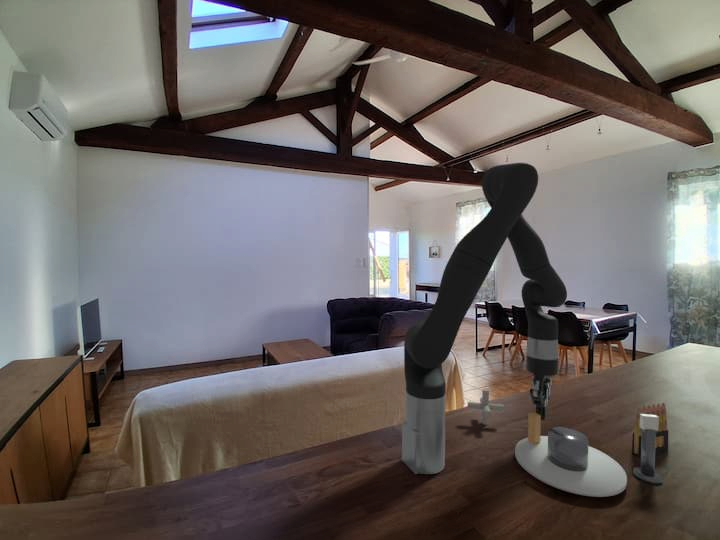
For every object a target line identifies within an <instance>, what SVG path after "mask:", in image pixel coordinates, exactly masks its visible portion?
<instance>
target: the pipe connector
mask: <svg viewBox="0 0 720 540" xmlns="http://www.w3.org/2000/svg"><path fill="white" fill-rule="evenodd" d="M467 409H475V410H481V424H482V425H484V426H487V425H489V418H491V417H492V412H491V411H498V412H504V411H505V406H504V404H500V403H498V404H497V403H490V390H489V389H487V388H483V389H482V397H480V398H479V402H476V401H467Z"/></svg>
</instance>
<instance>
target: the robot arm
mask: <svg viewBox="0 0 720 540" xmlns="http://www.w3.org/2000/svg"><path fill="white" fill-rule="evenodd" d="M481 182H482V183H481V188H482V192H483V195H484V197H485V199H486V201H487V203H488V205H489V206H490V209H489V211H488V213H487V214H486V215H485V216H484V218H482V219H481V221H479V222H478V223H477V224H476V225H475V226H474V227H473V228H471V230H469V231H468V232H467V233H466V234H465V235H464V236H463V237H462V238H461V239H460V241H459V242H457V245H456V246H455V247H454V250H453V252H452V253H451V255H450V257H449V259H448V261H447V262H446V265H445V268H444V270H443V272H442V277H441V280H440V283H439V288H438V291H437V292H438V293H437V296H436V300H435V303H434V305H433V307H432V309H431V311H430V313H429V314H428V315H427V317H426V320H425V321H423V322H421V321H420V322H417V323H414V324H413V325H411V326H410V327H409V328H408V330H407V332H406V334H405V337H404V344H403V345H404V347H403V348H404V350H403V352H404V353H403V354H404V357H403V358H404V364H403V365H404V366H403V367H404V380H405V420H404V421H402V423H401V425H402V427H401V428H402V429H401V461H402V462H403V463H404V464H405V465H406V466H407V467H408V468H409V469H410V471H412V473H413V474H414V475H418V474H422V475H434V474H438V473H440V472H442V471H443V470H444V468H445V464H446V463H445V462H446V390H447V389H446V387H447V385H446V379H445V376H444V371H443V363H444V362H446V360H447V359H448V357H449V355H450V353H451V351H452V349H453V346H454V343H455V340H456V338H457V336H458V333H459V331H460V328H461V326H462V323H463V321H464V318H465V316H466V315H467V313H468V311H469V309H470V308H471V306H472V304H473V302H474V301H475V299H476V297H477V294H478V293H479V291H480V289H481V288H482V286H483V285H484V282H485V281H486V279H487V277H488V275H489V273H490V271H491V270H492V267H493V265H494V262H495V261H496V259H497V256H498V254H499V252H501V249H502V248H503V246H504V244H505V242H506V240H507V239H508V241H509V243H510V246H511V247H512V251H513V253H514V255H515V256H514V257H515V260H516V261H517V265H518V267H519V271H520V273H521V275H522V276H523V277H524V278H526V279H528V280H526V281H525V282H524V283H523V285H522V288H521V299H522V303H523V306H524V310H525V314H526V319H527V323H528V325H527V327H528V328H527V340H526V341H527V342H526V363H525V365H526V366H525V367H526V371H527V372H529V373H531V374H533V378H532V379H531V386H532V388H530V390H529V393H530V397H531V401H532V404H533V405H535V413H537V414H539V415H541V421H546V419H547V405H548V404H549V402H548V401H550V400H551V399H550V397H551V393H552V392H551V391H552V388H553V387H552V386H553V383H554V382H553V379H550V377H554V376H557V375H558V373H559V357H560V356H559V355H560V354H559V339H558V338H559V321H558V319H557V318H556V317H555V316H553V315H550V314H549V313H546V312H544V310H543V307H548V308H560V307H562V306H563V305H564V304H565V303H566V301H567V297H568V292H567V291H568V290H567V288H566V287H567V286H566V284H565V282H564V281H563V279H562V278H561V277H560V275H559V274H558V273H557V271H556V269H555V268H554V267H553V266H552V265H551V263H550V262H551V261H550V260H549V259H550V258H549V256H548V254H547V250H546V246H545V245H544V242H543V240H542V239H541V237H540V236H539V234H538V233H537V232H536V230H535V229H534V228H533V226H531V224H530V223H529V222H528V221H527V219H526V218H525V217H524V215H523V213H524V212H525V211H526V208H527V207H528V205H529V204H530V202H531V200H532V199H533V197H534V195H535V193H536V191H537V187H538V184H539V173H538V170H537V168H536V167H535V166H534V164H531V163H529V162H512V163H506V164H498V165H494V166H492V167H490V168H489V169H487V171H485V173H484V175H483V177H482V180H481Z"/></svg>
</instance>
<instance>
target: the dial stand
mask: <svg viewBox="0 0 720 540" xmlns="http://www.w3.org/2000/svg"><path fill="white" fill-rule="evenodd" d="M658 425H659V417H657V416H656V415H649V414H640V428H642V441H641V456H640V466H635V467H633V469H632V473H633V476H634V477H635V478H637V479H638V480H640V481H643V482H645V483H648V484H650V485H651V484H652V485H662V483H663V477H662V475H661V474H660V473H659V472H656V471H655V469H656V467H655V466H656V463H655V462H656V453H655V443H656V431H658Z"/></svg>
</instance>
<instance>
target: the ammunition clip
mask: <svg viewBox="0 0 720 540" xmlns="http://www.w3.org/2000/svg"><path fill="white" fill-rule="evenodd" d="M635 413H636V414H635V421H634V430H633V431H634V432H632V441H631V442H632V444H631V453H632V454H634V455H636V456H639V457H641V441H642V428H640V414H649V415H656V416H657V417H659V425H658V431H656V443H655V454H656V453H660V452H664V451H669V430H668V418H667V407H666V404H665V403H664V402H662V403H661V405H660V403H657V404H656V405H655V404H652V406H650V404H648V406H647V407H646V406H645V405H644V406H642V408H641V407H640V406H638V407H637V410H636V412H635Z"/></svg>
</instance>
